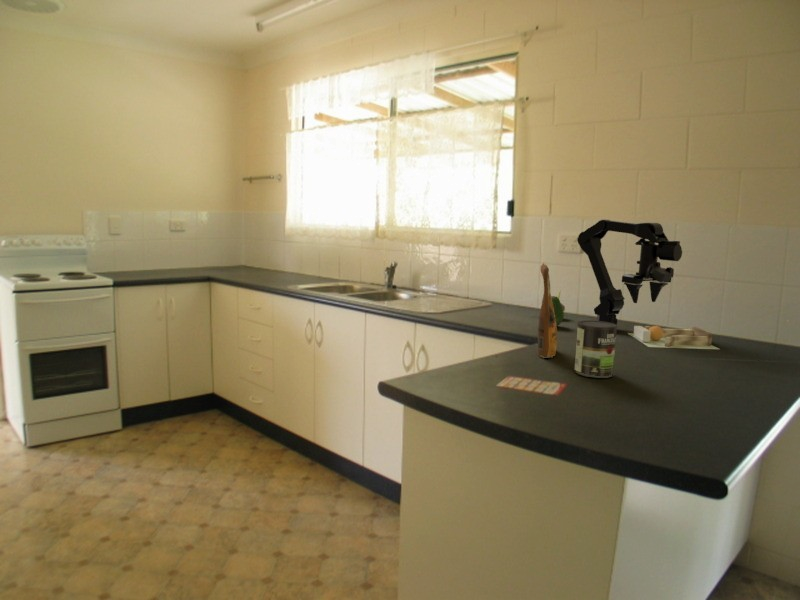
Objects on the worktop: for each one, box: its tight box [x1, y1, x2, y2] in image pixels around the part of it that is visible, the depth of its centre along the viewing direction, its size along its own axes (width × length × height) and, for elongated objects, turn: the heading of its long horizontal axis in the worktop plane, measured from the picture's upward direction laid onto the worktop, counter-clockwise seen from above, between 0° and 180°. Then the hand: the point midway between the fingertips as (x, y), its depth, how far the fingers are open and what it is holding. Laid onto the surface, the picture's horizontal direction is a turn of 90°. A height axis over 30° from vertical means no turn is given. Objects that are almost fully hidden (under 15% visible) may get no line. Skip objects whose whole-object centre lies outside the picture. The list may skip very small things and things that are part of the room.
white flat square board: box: [627, 332, 720, 350], centre depth 201 cm, size 23×22×1 cm
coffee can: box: [574, 319, 618, 376], centre depth 158 cm, size 10×10×14 cm
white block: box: [633, 325, 651, 343], centre depth 201 cm, size 2×9×4 cm, turn 177°
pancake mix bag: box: [537, 262, 558, 357], centre depth 179 cm, size 7×19×28 cm, turn 163°
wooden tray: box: [644, 325, 713, 347], centre depth 201 cm, size 16×20×4 cm
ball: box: [649, 325, 663, 340], centre depth 201 cm, size 5×5×5 cm
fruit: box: [551, 295, 565, 327], centre depth 223 cm, size 8×8×12 cm
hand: (644, 302), depth 206 cm, fingers open, 9 cm apart
